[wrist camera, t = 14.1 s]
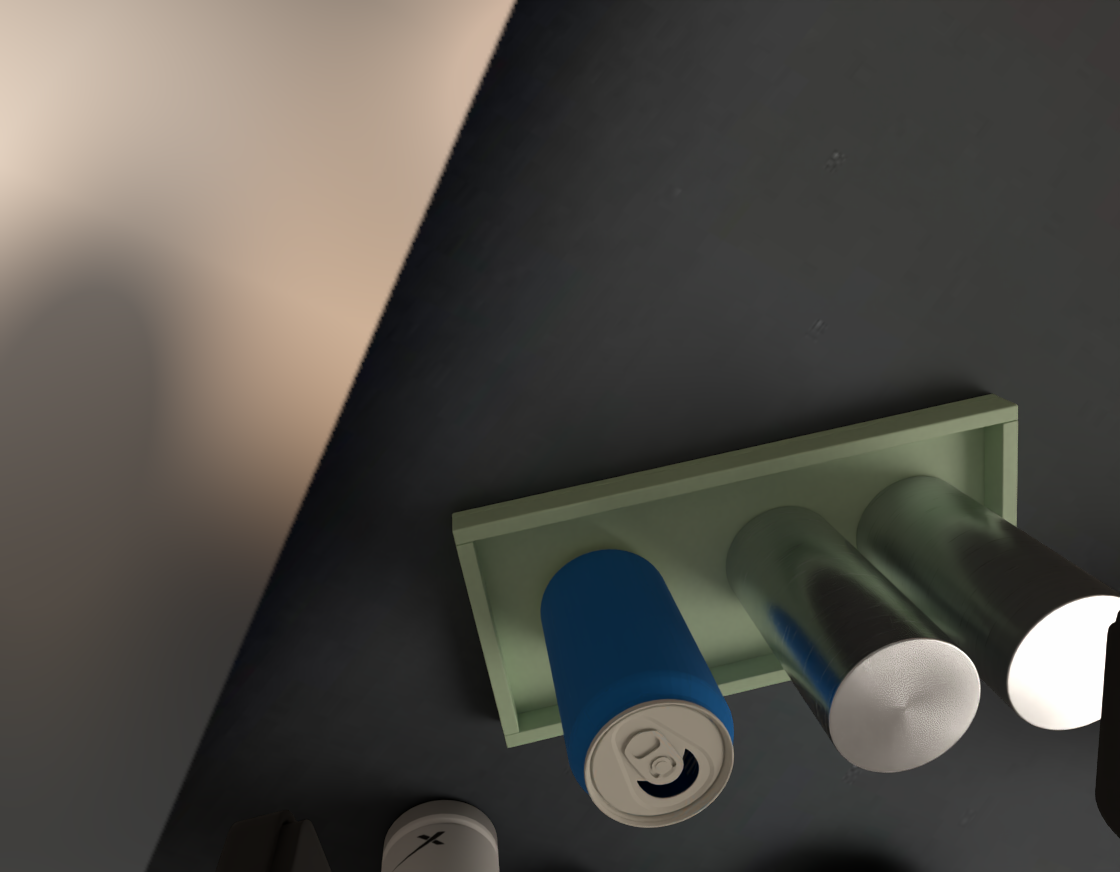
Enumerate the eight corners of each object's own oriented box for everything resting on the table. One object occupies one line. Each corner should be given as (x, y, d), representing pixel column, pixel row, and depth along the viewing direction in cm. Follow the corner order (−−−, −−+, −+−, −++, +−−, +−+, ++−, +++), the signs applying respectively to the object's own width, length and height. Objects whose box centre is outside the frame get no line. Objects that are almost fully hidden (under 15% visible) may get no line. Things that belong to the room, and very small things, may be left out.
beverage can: (585, 676, 42) (635, 864, 31) (513, 591, 40) (537, 760, 29) (687, 606, 42) (776, 773, 30) (619, 517, 39) (687, 659, 28)
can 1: (718, 520, 40) (823, 659, 29) (833, 494, 40) (981, 622, 29) (731, 621, 42) (834, 789, 31) (840, 596, 43) (981, 752, 31)
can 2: (852, 489, 41) (1007, 615, 29) (965, 464, 41) (1160, 578, 30) (859, 591, 43) (1006, 746, 31) (966, 566, 43) (1149, 710, 32)
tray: (451, 513, 39) (451, 530, 37) (992, 393, 40) (1018, 404, 38) (504, 723, 43) (507, 748, 41) (991, 606, 45) (1015, 626, 43)
